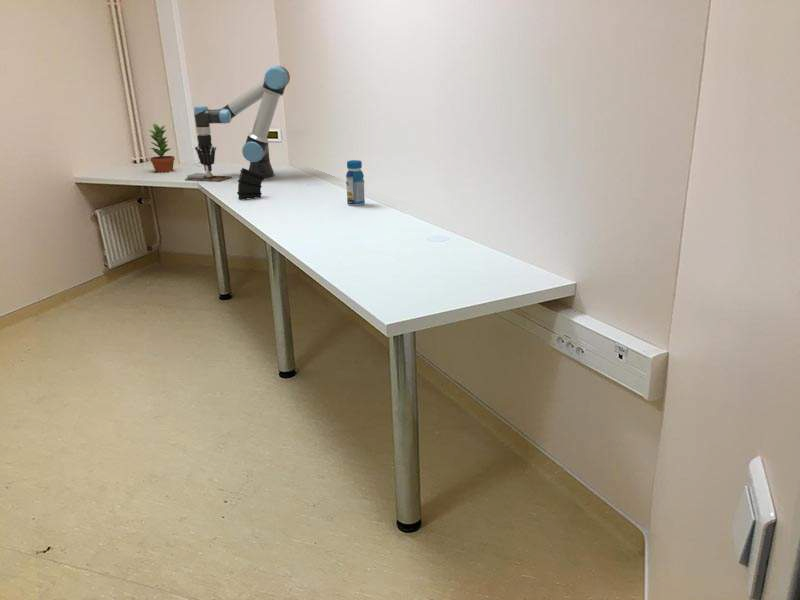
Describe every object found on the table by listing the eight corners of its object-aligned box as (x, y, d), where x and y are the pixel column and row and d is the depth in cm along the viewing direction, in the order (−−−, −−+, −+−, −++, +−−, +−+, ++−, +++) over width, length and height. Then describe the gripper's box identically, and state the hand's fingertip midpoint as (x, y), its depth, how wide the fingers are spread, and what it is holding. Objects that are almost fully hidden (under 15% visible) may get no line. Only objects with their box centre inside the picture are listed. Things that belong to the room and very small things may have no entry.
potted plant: (165, 174, 386) (157, 124, 376) (147, 172, 392) (139, 123, 382) (182, 170, 399) (175, 122, 388) (165, 169, 405) (157, 121, 394)
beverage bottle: (362, 206, 286) (361, 162, 279) (345, 206, 288) (342, 162, 281) (366, 202, 294) (365, 159, 287) (349, 202, 296) (347, 159, 288)
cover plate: (212, 177, 363) (212, 173, 362) (203, 180, 355) (203, 176, 354) (197, 177, 366) (196, 172, 365) (187, 179, 358) (187, 175, 357)
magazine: (231, 196, 306) (241, 167, 304) (255, 204, 314) (265, 176, 313) (234, 197, 303) (243, 168, 302) (258, 205, 311) (268, 177, 310)
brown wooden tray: (232, 179, 362) (232, 176, 361) (219, 183, 350) (219, 180, 349) (199, 178, 369) (198, 174, 368) (185, 182, 357) (184, 178, 356)
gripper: (190, 135, 348) (195, 177, 357) (209, 135, 345) (215, 178, 353) (198, 133, 355) (203, 175, 363) (217, 134, 351) (222, 176, 360)
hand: (209, 176), depth 358 cm, fingers closed
